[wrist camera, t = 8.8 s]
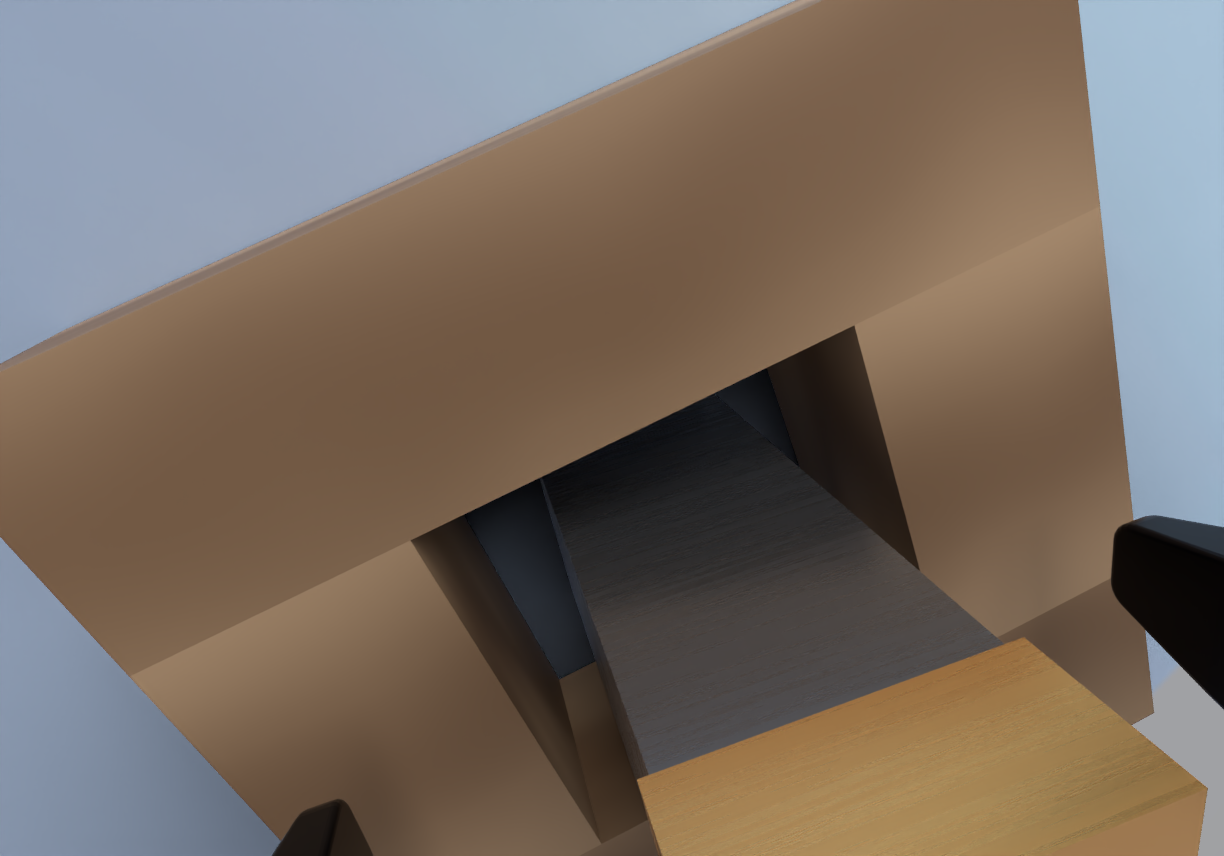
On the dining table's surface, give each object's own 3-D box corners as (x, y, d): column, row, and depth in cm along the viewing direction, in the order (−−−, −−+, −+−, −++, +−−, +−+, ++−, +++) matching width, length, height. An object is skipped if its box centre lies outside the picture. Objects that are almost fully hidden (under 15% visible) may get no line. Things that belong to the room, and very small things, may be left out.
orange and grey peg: (709, 378, 12) (1209, 789, 4) (737, 541, 13) (1164, 1081, 6) (520, 434, 12) (709, 994, 4) (567, 598, 13) (782, 1261, 5)
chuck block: (1003, 595, 15) (1154, 712, 12) (476, 868, 15) (492, 1069, 12) (870, -34, 10) (1066, -111, 7) (65, 329, 10) (-107, 420, 7)
